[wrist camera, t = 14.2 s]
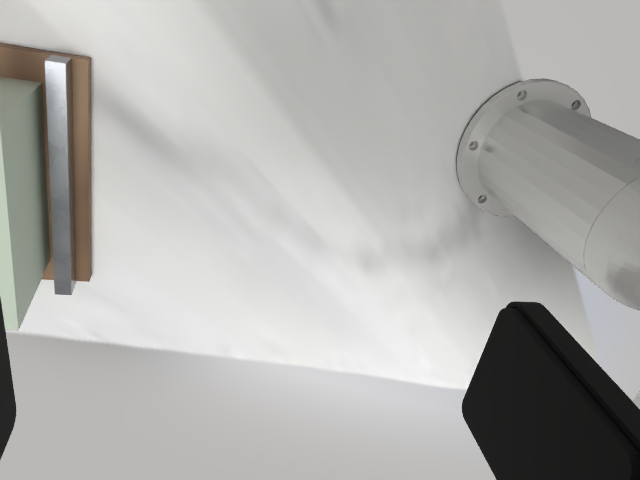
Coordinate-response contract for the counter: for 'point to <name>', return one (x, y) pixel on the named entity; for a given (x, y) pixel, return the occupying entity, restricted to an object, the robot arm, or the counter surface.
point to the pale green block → (22, 197)
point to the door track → (62, 154)
